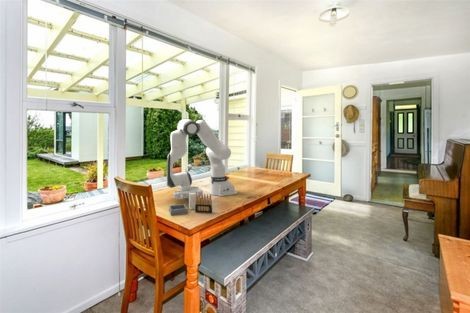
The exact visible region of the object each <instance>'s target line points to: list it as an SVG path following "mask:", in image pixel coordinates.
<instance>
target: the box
mask: <svg viewBox="0 0 470 313" xmlns="http://www.w3.org/2000/svg"><path fill="white" fill-rule="evenodd" d="M168 211H169V214H170V215H171V216H176V215H183V214H188V208H187V205H186V204H185V203H183V204H174V205H168Z"/></svg>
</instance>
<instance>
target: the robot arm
mask: <svg viewBox="0 0 470 313" xmlns="http://www.w3.org/2000/svg"><path fill="white" fill-rule="evenodd" d="M196 134H197V136H198V138H199V139H200V141H201V142H202V143H203V145H204V146H205V147H206V148H205V154H206V156H207V157H208V159H209V163H210V173H211V176H210V183H211V184H210V191H209V195H210V194H211V196H219V197H223V196H224V197H225V196H231V195H237V194H238V190H237V189H235V185H234V184H233V183H231V182H230V181H229V180H230V177H229V176H227V175H226V166H225V164H224V163H223V161H224V160H228V159H230V158H231V154H232V150H231V149H230V147H228V146H226V145H225V144H224V143H223V142H222V141H221V140H220V139H219V138H218V137H217V136H216V134H215V133H214V131H213V130H212V128H211V127H210V126H209V124H208V123H207V122H206V121H205V120H203V119H199V120H196V121H194V120H193V119H190V118H182V119H179V121H178V122H177V124H176V127H175V130H174V131H171V133H170V147H171V149H170V152H169V153H168V154H167V159H166V177H165V184H166V186H167V187H168V188H171V189H172V188H175V187H178V190H176V191H175V190H174V192H173V193H172V195H173V198H174V199H189V193H197V195H198V196H199V193H200V197H201V194H203V195H204V191H203V190H202V188H199V186H192V184H193V179H192V175H191V174H190V173H189V172H188V171H181V172H177V173H174V172H173V171H174V170H173V169H174V168H173V167H174V163H175V162H177V161H178V160H179V159H181V158H182V157H184V156H185V155H186V154H187V152H188V147H187V146H188V144H187V137H188V136H194V135H196Z"/></svg>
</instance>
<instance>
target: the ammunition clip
mask: <svg viewBox="0 0 470 313" xmlns="http://www.w3.org/2000/svg"><path fill="white" fill-rule="evenodd" d="M195 202H196V204H195V209H194V212H195V213H204V214H212V213H213V204H212V203H213V201H212V195H211V194H210V193H209V194H208V193H203V194H201V196H200V193H199V196H198V195H197V193H196V200H195Z"/></svg>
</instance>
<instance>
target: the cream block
mask: <svg viewBox="0 0 470 313" xmlns="http://www.w3.org/2000/svg"><path fill="white" fill-rule="evenodd" d="M195 200H196V193H189V198H188V208H189V210H190V211H191V210H195V204H196V202H195Z"/></svg>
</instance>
